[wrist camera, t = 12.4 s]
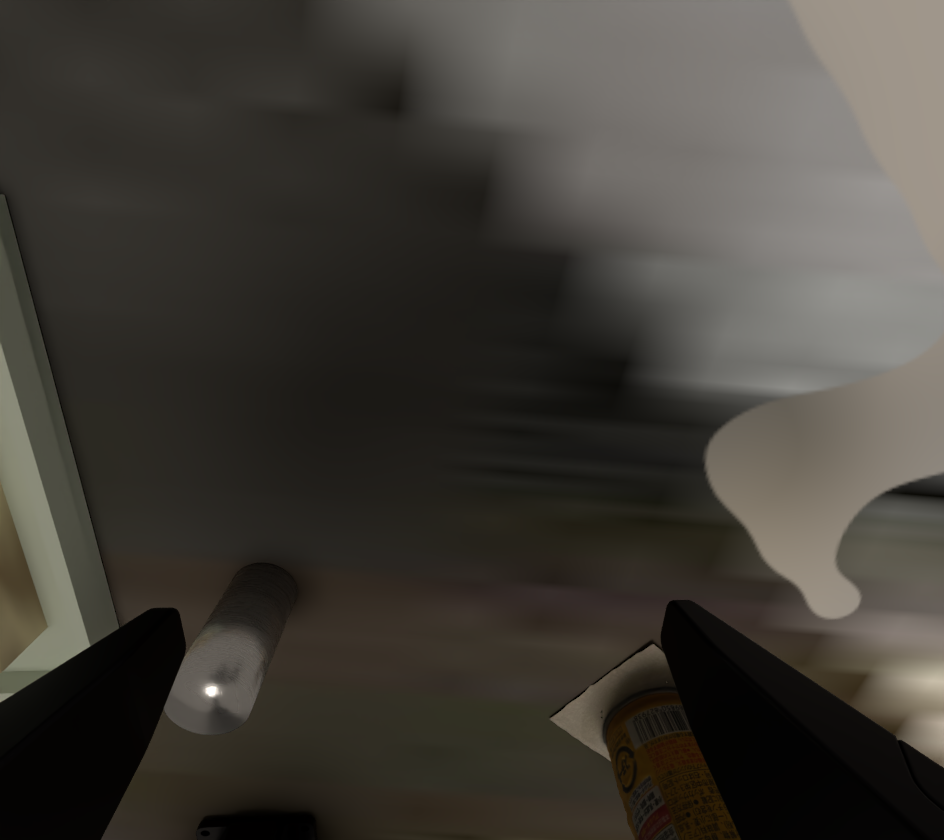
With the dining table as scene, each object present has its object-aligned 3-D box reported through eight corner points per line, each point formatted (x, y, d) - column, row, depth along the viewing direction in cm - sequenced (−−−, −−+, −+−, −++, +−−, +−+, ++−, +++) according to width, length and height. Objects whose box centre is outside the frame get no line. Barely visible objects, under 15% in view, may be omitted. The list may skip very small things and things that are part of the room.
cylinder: (299, 615, 23) (255, 733, 18) (235, 615, 23) (170, 736, 17) (294, 563, 22) (245, 671, 17) (227, 563, 22) (154, 673, 16)
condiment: (641, 781, 29) (768, 1118, 18) (548, 716, 27) (628, 1057, 16) (739, 714, 28) (944, 1034, 17) (650, 638, 25) (819, 953, 14)
